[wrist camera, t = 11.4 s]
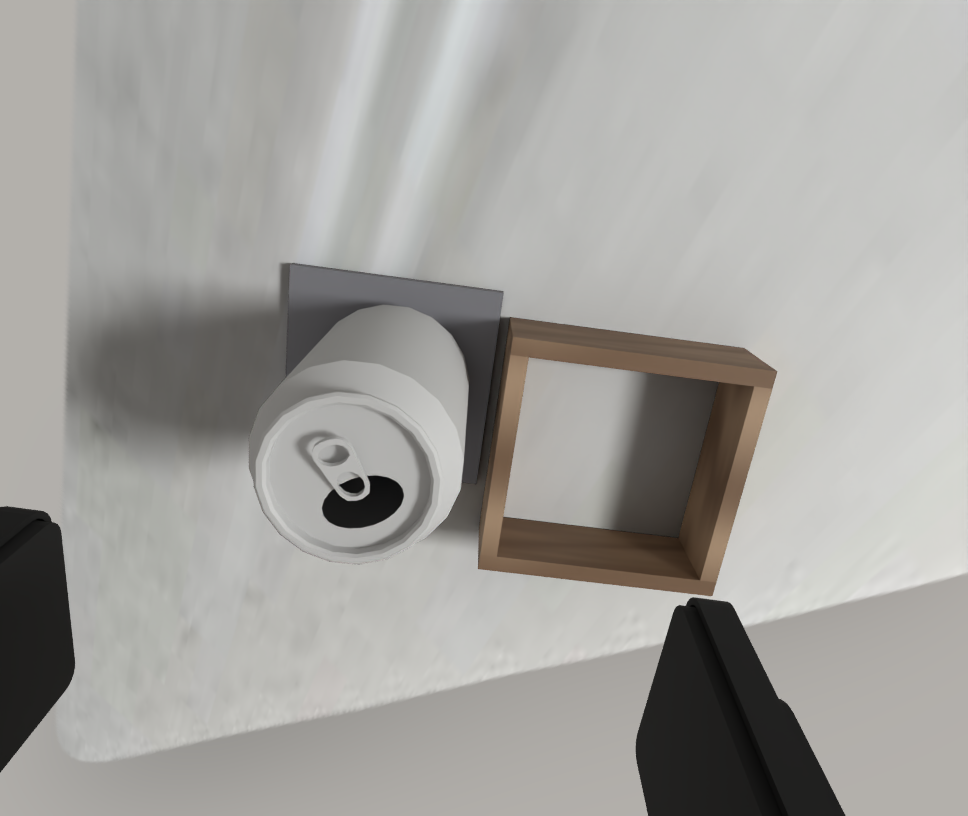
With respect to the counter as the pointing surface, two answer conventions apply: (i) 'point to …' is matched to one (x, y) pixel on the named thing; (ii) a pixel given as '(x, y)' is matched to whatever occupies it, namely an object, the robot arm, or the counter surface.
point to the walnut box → (714, 485)
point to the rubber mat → (456, 308)
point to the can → (364, 437)
